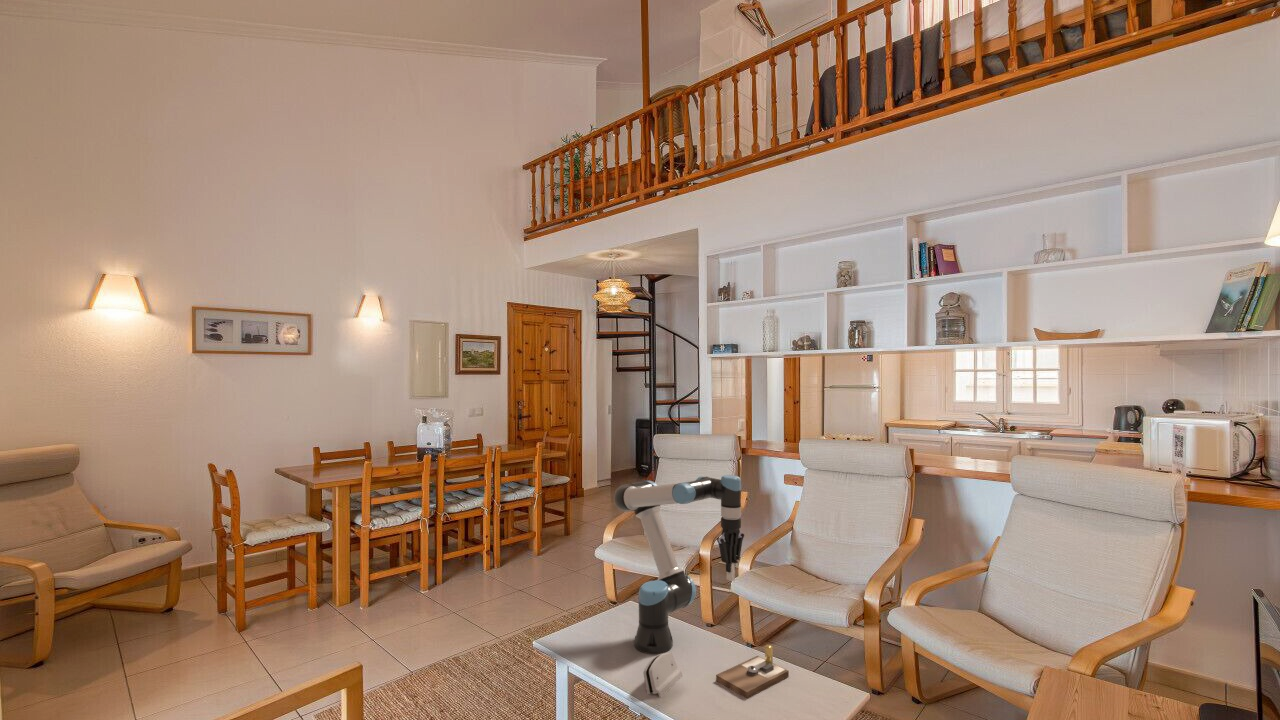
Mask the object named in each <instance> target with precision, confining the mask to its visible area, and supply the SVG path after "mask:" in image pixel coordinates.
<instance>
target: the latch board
mask: <svg viewBox="0 0 1280 720" xmlns="http://www.w3.org/2000/svg"><path fill="white" fill-rule="evenodd" d="M764 661H765V658H763V657H761V656H759V655H756V656H754V657H751V658H749V659H747V660H745V661H743V662H741V663H739V664H737V665H733V667H732V666H731V667H730V668H727V669H726V670H724V671H722V672H719V673H717V674H716V675H715V682H716V681H717V683H719V684H721V685H723V686H725V687H727V688H728V689H730V690H732V691H733V692H735V693H737V694H739V695H741V696H742V697H744V698H746V699H748V698H750V697H753V696H754V695H756V694H758V693H760V692H762V691H764V690H766V689H767V688H769V687H772V686H773V685H775V684H777V683H779V682H781V681H782V680H785V679H787V678H789V670H788V669H786V668H784V667H782V666H781V665H777V664H776V663H773V665H771V664H767V665H765V666H763V667H762V670H760V671H758V672H757V674H750V673H748V667H749V666H755V665H757V664H759V663H762V662H764Z"/></svg>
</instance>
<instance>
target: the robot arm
mask: <svg viewBox="0 0 1280 720" xmlns="http://www.w3.org/2000/svg"><path fill="white" fill-rule="evenodd" d="M707 499H716V500H720V516H721V517H720V528H721V529H722V530H721V531H722V532H721V536H720V537H717V538H716V541H717V543H718V547H719V552H720V553H719V554H720V559H721V562H723V563H725V572H726V581H727V580H728V581H730V582H734V581H735V580H736V579H735V576H736V575H735V573H736V564H738V563H739V560H740V557H741V553H742V546H743V541H744V537H745V534H744V533H742V532H741V531H740V530H741V527H742V518H741V517H742V503H741V502H742V500H741V499H742V479H741V477H739V476H738V475H733V474H725V475H724V474H723V475H721V478H719V479H718V478H714V477H709V476H699V477H697V478H696V479H695V480H691V481H685V482H678V483H677V482H676V483H670V484H663V485H662V484H661V485H658V484H657V483H656V482H654V481H652V480H639V481H636V482H630V483H625V484H622V485H620V486H618V488H616V489H615V492H614V494H613V503H614V505H615V507H616V508H617V509H618V510H619V511H621V512H626V513H627V512H629V513H630V512H634V516H635V517H636V518H638V519H640V521H641V522H640V523H641V525H642V528H643V531H644V534H645V537H646V539H647V542H648V544H649V545H648V546H649V548H650V551H651V553H652V557H653V561H654V562H655V563H654V564H655V566H656V570H657V571H658V577H657V579H655V580H649V581H647V582H644V583H643V584H642V585H641V586H640V587H639V588H638V589H639V590H638V626H637V631H636V634H635V635H634V636H635V637H634V638H633V639H634V640H633V641H634V643H633V644H634V648H635V649H636V650H638V651H639V652H642V653H645V654H654V655H655V654H656V655H659V654H663V653H667V652H668V651H670V650H671V649H672V648H673V646H674V642H673V641H674V640H673V636H672V632H671V629H670V626H669V614H671V613H674V612H676V611H678V610H681V609H683V608H686V607H687V606H690V605H691V604H692V603H693V602H694V600H695V597H696V595H697V594H696V593H697V589H696V583H695V582H694V580H693V578H691V577H690V576H689V575H688V574H687V575H686V574H685V571H684V569H682V568H681V567H680V566H679V565H678V562H677V559H676V556H675V553H674V551H673V548H672V545H671V542H670V539H669V537H668V533H667V530H666V529H665V526H664V522H663V519H662V517H661V515H660V510H661V508H662V505H664V506H665V505H675V504H678V505H687V504H690V503H693V502H697V501H698V502H699V501H702V500H707Z"/></svg>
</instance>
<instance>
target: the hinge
mask: <svg viewBox="0 0 1280 720" xmlns="http://www.w3.org/2000/svg"><path fill="white" fill-rule="evenodd" d="M642 673H643V678H644V683H645V688H646V693H647V695H651V694H654V695H656V694H658V697H659V698H662V697H663V696H664V695H665V694H666V693H667V692H668V691H669V690H670V689H671V688H672V687H674V685H675V684H676V683H677V682H679V681H680V679H682V677H683V671H682V670H681V669H679V668H678V665H677V663H676V660H675V657H674V654H673V653H672V652H663V653H658V654H656V655H655V656H653V657H652V658H651V659H650V660H649V661H648V662H647V664H646V665H645V668H644V669H643V672H642Z"/></svg>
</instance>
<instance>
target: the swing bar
mask: <svg viewBox="0 0 1280 720" xmlns="http://www.w3.org/2000/svg"><path fill="white" fill-rule="evenodd" d="M773 648H774V647H773V645H771V644H766V645H765V646H764V659H765V661H764V662H762V663H759V664H757V665H755V666H749V667H748V673H750V674H757V672H758V671H760V670H762V667H763V666H765V665H767V664H771V665H773V659H774V658H773V657H774V656H773V654H774V653H773Z"/></svg>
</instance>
